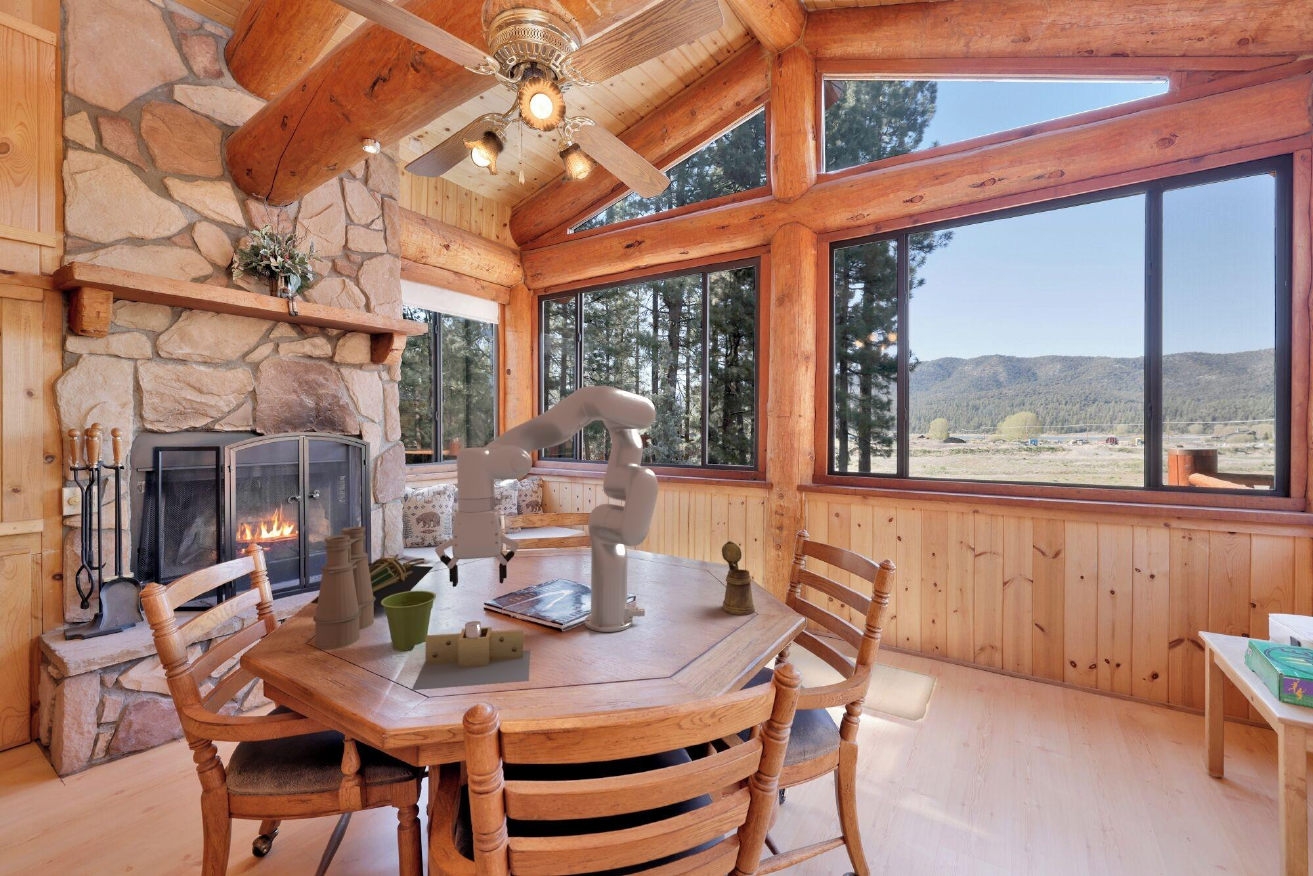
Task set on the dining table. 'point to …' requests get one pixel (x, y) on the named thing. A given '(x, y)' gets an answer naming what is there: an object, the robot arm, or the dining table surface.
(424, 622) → the plant pot
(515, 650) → the hinge
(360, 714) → the dining table surface
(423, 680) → the board
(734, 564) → the wooden mug
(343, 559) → the binoculars
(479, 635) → the pin
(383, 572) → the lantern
